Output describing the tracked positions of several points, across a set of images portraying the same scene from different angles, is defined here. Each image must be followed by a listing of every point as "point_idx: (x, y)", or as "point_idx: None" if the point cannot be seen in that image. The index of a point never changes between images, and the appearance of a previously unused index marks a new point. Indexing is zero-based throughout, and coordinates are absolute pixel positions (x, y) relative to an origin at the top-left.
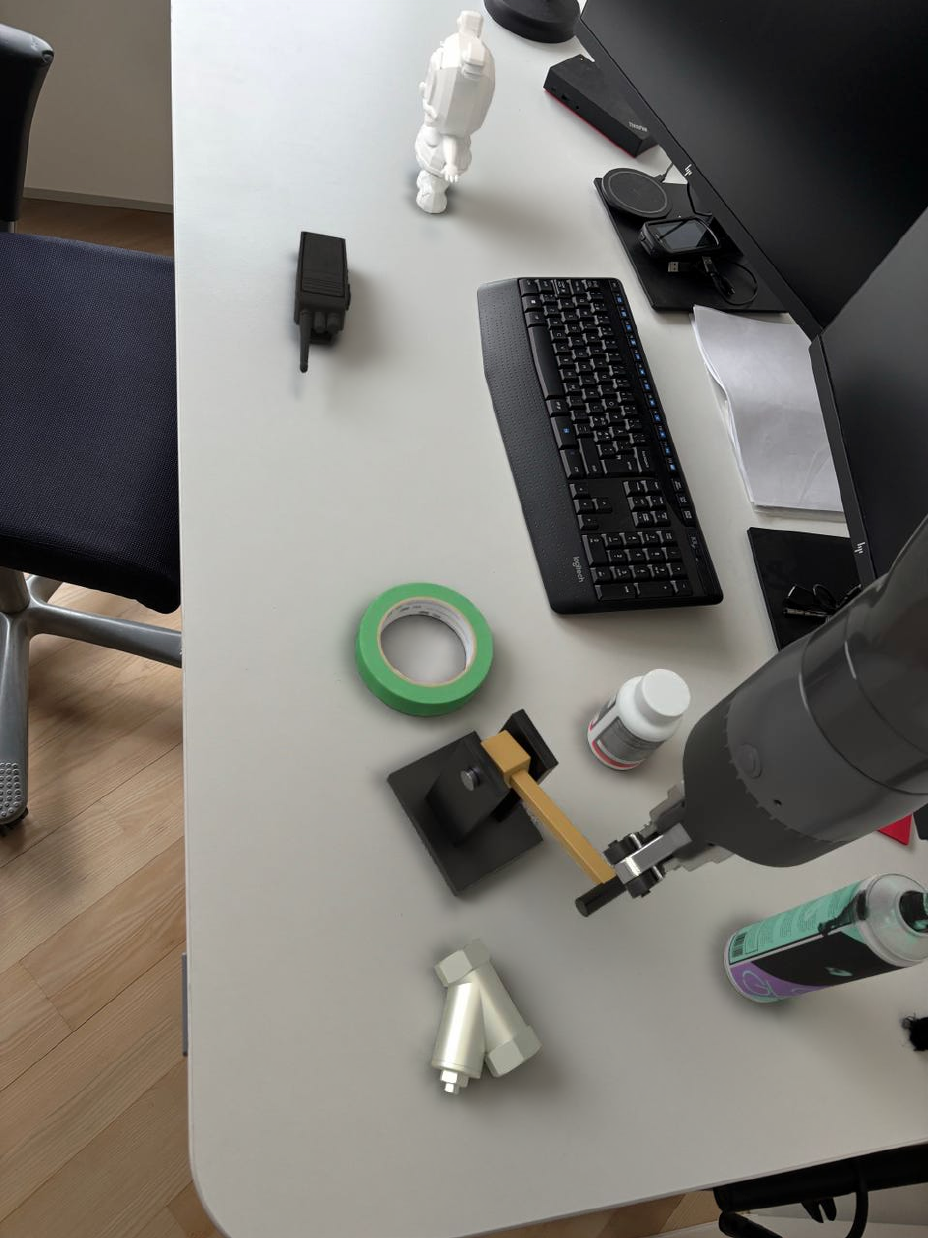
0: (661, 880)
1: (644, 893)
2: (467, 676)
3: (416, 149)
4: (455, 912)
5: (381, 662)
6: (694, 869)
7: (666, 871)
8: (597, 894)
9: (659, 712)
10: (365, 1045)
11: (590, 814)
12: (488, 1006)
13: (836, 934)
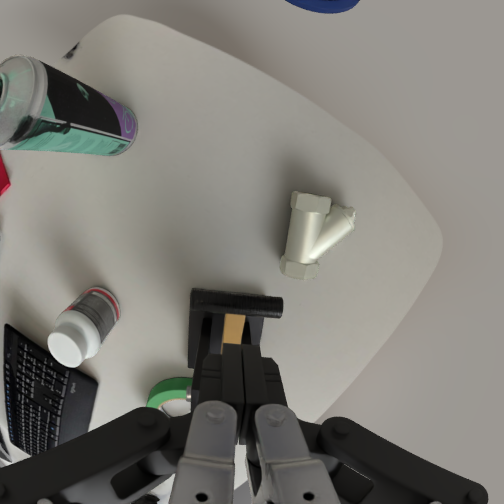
0: (342, 434)
1: (480, 499)
2: (176, 397)
3: None
4: (271, 286)
5: None
6: (329, 478)
7: (293, 414)
8: (262, 313)
9: (76, 345)
10: (363, 258)
11: (146, 281)
12: (313, 239)
13: (60, 118)
